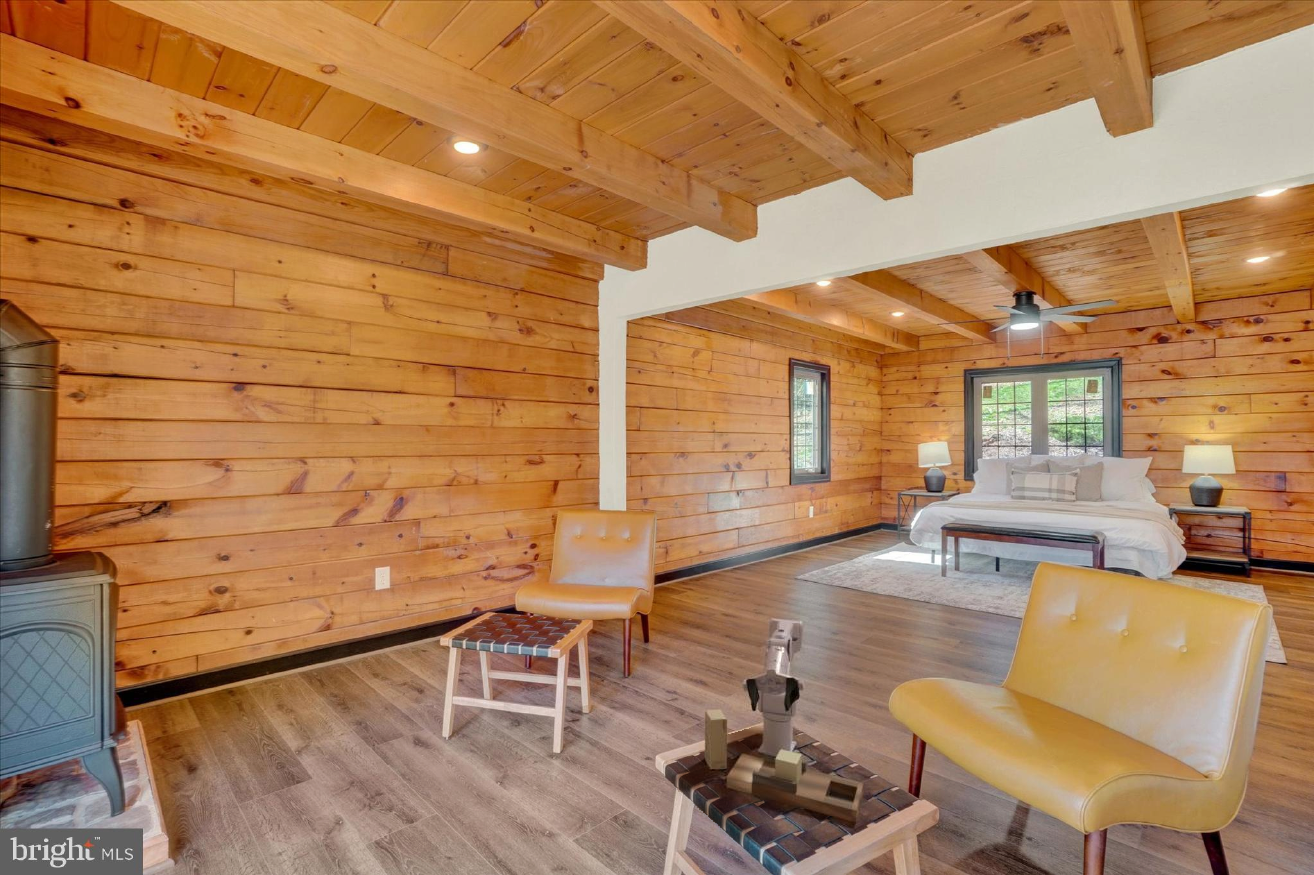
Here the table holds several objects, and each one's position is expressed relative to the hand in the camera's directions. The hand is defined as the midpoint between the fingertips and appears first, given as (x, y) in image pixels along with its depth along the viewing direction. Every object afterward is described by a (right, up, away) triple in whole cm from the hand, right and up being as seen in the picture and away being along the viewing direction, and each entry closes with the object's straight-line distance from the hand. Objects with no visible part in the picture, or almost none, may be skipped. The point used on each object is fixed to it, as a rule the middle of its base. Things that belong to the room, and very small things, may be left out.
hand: (769, 707), depth 141 cm
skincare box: (-11, -20, +12) cm, 26 cm away
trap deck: (+6, -20, +1) cm, 20 cm away
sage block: (+5, -17, +1) cm, 18 cm away
